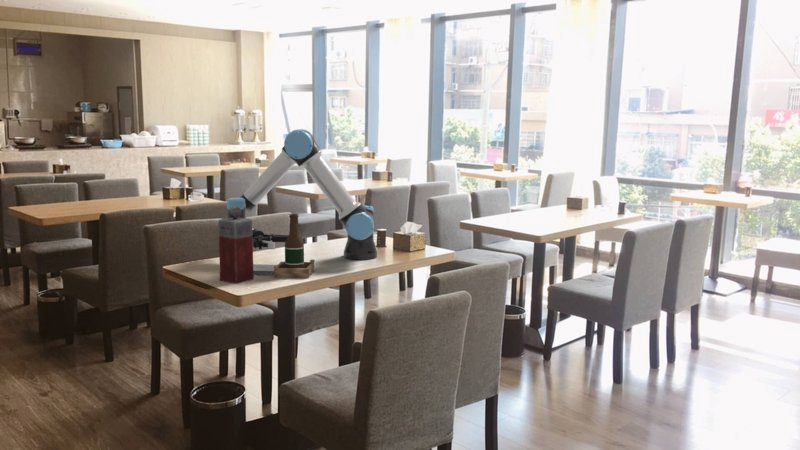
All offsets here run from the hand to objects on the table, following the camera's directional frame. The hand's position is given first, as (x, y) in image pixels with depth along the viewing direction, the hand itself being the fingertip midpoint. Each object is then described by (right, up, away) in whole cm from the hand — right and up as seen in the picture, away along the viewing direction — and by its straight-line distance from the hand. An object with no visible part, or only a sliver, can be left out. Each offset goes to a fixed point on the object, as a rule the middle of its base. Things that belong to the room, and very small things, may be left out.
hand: (287, 243), depth 270 cm
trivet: (-10, -11, +4) cm, 16 cm away
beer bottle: (+3, -12, 0) cm, 13 cm away
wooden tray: (+3, -12, 0) cm, 12 cm away
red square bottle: (-18, -14, -10) cm, 25 cm away
